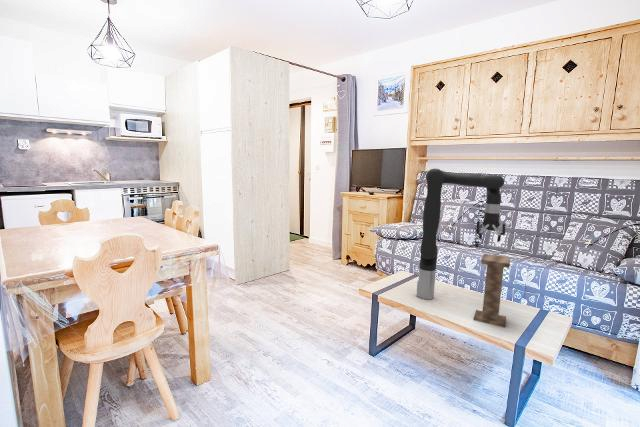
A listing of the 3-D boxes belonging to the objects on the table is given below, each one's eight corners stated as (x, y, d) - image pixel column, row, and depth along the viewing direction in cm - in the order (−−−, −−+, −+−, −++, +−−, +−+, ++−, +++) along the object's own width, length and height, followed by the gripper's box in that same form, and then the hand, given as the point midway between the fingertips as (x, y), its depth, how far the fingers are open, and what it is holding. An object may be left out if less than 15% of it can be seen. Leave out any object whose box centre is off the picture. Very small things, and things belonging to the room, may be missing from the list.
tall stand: (473, 320, 164) (479, 259, 160) (476, 311, 175) (481, 253, 171) (505, 328, 157) (512, 264, 152) (506, 318, 168) (512, 257, 163)
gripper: (477, 211, 180) (474, 240, 182) (506, 213, 173) (503, 243, 175) (478, 210, 186) (476, 237, 189) (507, 212, 179) (504, 241, 182)
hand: (489, 240), depth 182 cm, fingers open, 8 cm apart
